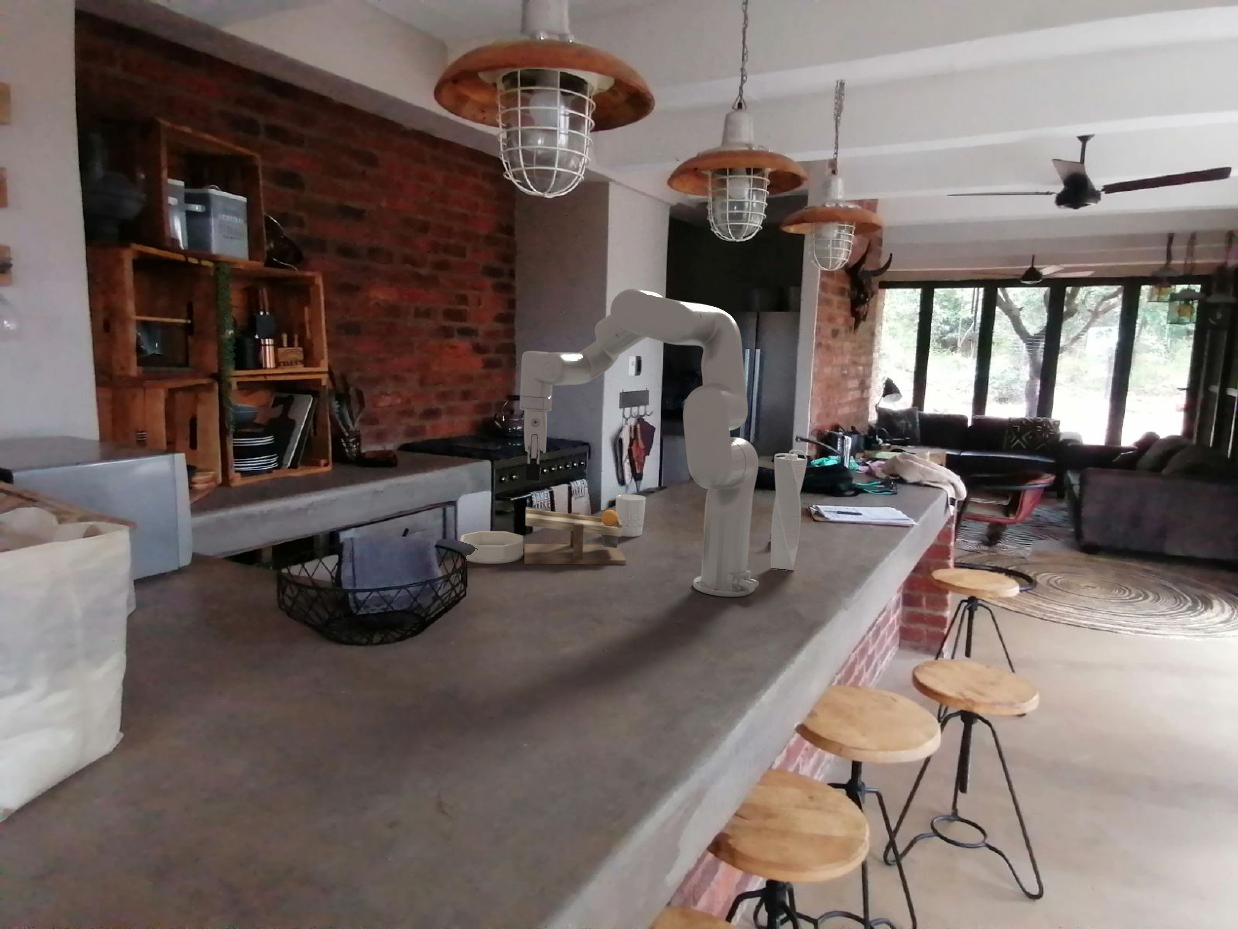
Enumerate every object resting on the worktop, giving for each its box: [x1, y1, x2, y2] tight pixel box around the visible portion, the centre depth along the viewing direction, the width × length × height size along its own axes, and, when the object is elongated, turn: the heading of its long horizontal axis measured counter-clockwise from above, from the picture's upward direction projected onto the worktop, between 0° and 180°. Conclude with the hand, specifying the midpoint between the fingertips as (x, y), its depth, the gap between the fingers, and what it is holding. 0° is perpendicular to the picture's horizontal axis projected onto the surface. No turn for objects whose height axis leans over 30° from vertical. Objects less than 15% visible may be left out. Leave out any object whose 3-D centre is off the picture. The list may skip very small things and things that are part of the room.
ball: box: [601, 509, 618, 527], centre depth 186 cm, size 4×4×4 cm
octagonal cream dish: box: [459, 530, 524, 565], centre depth 183 cm, size 14×14×4 cm
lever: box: [524, 506, 623, 548], centre depth 188 cm, size 22×16×6 cm
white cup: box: [615, 493, 647, 538], centre depth 210 cm, size 8×8×10 cm
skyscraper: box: [770, 448, 808, 571], centre depth 182 cm, size 8×8×28 cm
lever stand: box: [523, 511, 627, 566], centre depth 185 cm, size 23×14×9 cm, turn 97°
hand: (532, 479), depth 191 cm, fingers closed
